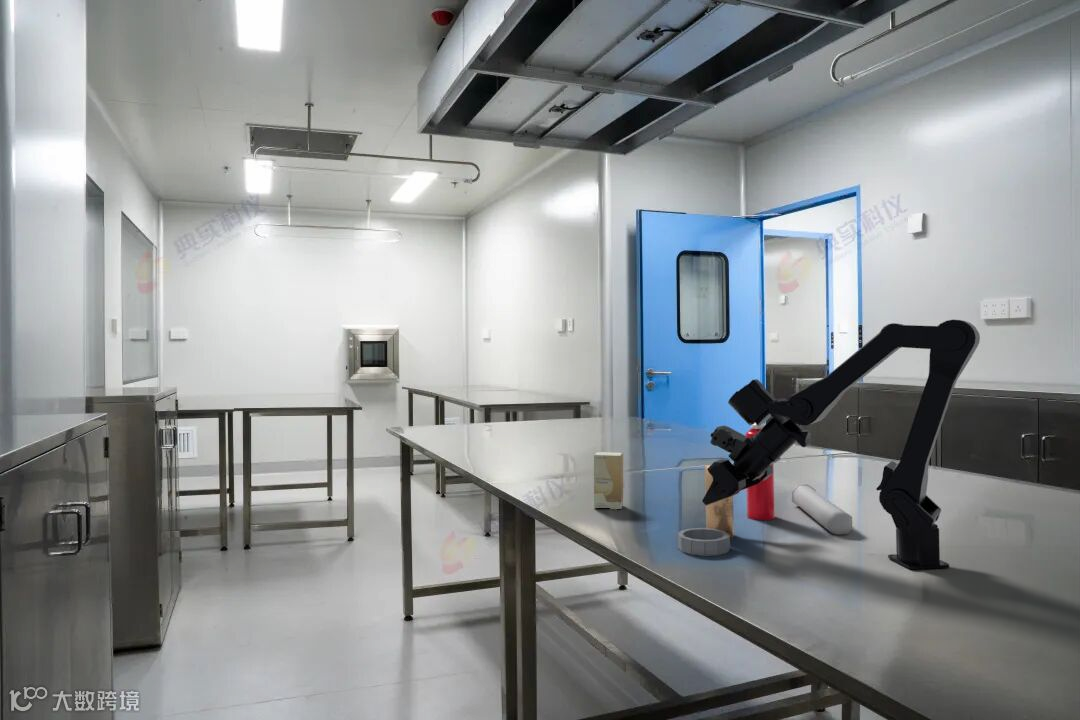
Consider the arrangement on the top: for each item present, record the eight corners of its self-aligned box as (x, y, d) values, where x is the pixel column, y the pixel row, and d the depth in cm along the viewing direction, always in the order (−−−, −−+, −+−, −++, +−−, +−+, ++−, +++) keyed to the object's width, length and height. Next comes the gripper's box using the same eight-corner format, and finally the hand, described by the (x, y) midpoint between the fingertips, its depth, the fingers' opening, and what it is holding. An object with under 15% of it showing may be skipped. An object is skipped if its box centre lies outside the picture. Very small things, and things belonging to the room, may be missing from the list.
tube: (861, 516, 128) (819, 487, 153) (833, 507, 129) (795, 480, 153) (852, 543, 128) (811, 510, 153) (823, 534, 129) (787, 503, 154)
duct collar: (736, 554, 119) (736, 539, 119) (687, 556, 119) (686, 542, 119) (719, 540, 128) (719, 527, 128) (673, 543, 127) (672, 529, 127)
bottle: (777, 515, 146) (775, 419, 145) (771, 521, 141) (769, 422, 141) (750, 512, 148) (748, 418, 148) (744, 518, 144) (741, 421, 143)
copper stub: (737, 538, 129) (736, 467, 129) (711, 539, 129) (709, 469, 129) (728, 531, 134) (726, 463, 134) (702, 532, 134) (701, 464, 134)
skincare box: (593, 509, 156) (592, 454, 156) (596, 505, 160) (595, 451, 160) (622, 510, 154) (621, 454, 154) (624, 505, 159) (623, 451, 158)
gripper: (755, 407, 136) (703, 460, 143) (717, 416, 122) (661, 474, 128) (797, 450, 132) (741, 502, 139) (763, 465, 117) (702, 522, 124)
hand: (712, 499), depth 132 cm, fingers open, 7 cm apart
